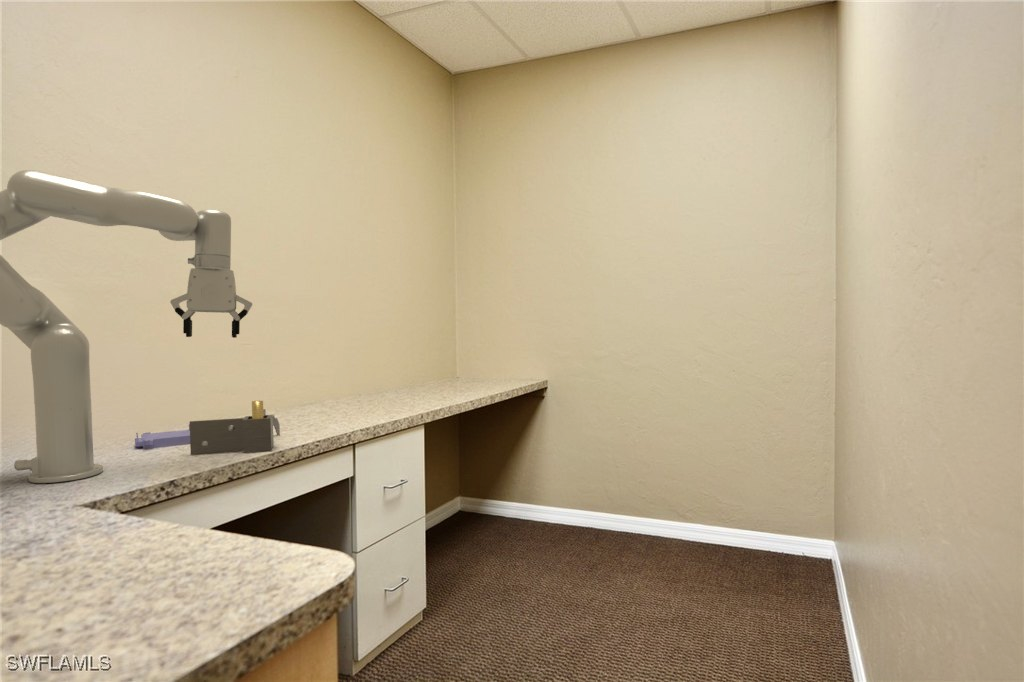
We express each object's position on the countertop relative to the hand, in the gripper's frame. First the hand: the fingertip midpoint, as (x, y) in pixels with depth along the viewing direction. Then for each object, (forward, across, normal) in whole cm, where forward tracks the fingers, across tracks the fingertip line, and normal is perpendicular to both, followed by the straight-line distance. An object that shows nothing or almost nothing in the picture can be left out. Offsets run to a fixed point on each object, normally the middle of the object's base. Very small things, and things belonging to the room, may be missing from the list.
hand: (211, 337), depth 143 cm
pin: (+28, +10, +6) cm, 30 cm away
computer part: (+29, -7, +27) cm, 40 cm away
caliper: (+28, +4, +22) cm, 36 cm away
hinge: (+28, +4, +12) cm, 31 cm away
